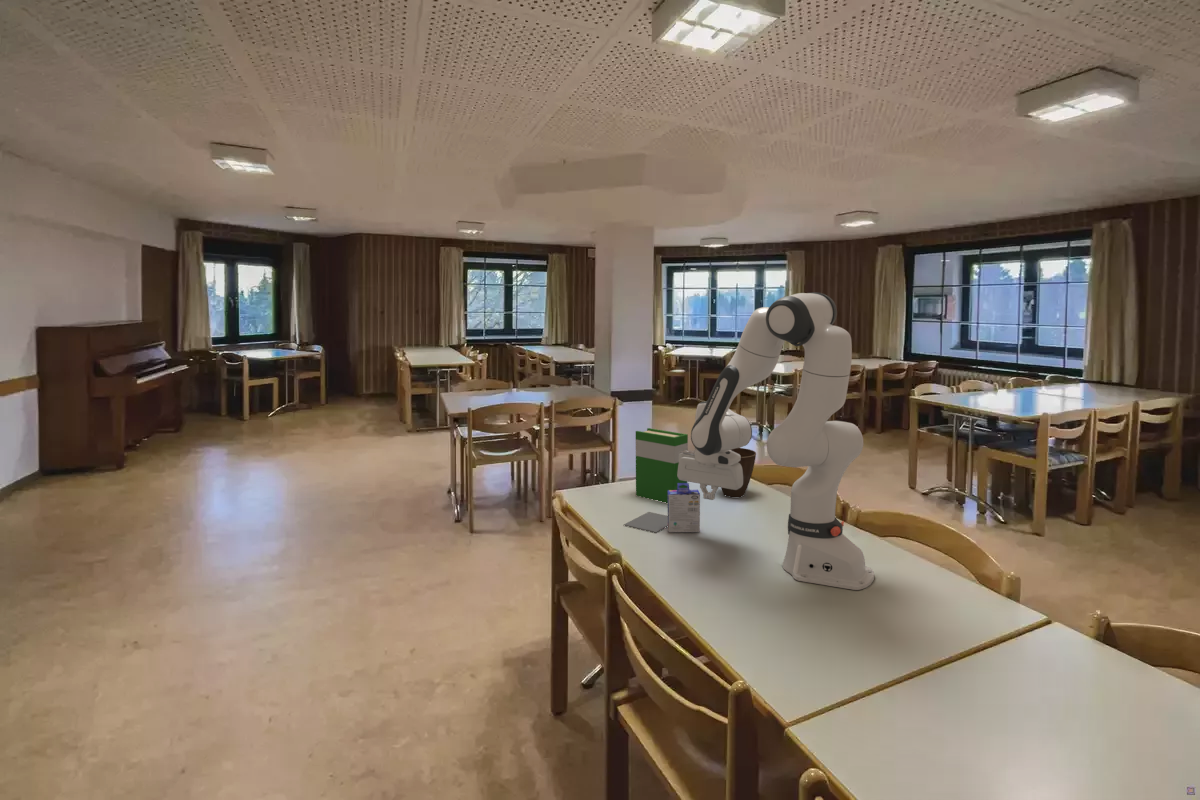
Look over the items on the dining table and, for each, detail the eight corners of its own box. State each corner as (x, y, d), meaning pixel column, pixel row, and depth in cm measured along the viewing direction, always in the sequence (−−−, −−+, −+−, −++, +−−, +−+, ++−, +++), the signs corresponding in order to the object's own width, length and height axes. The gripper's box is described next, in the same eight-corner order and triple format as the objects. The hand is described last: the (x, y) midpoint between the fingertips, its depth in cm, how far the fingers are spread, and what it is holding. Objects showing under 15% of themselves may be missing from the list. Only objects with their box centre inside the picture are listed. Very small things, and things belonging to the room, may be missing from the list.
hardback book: (635, 495, 234) (635, 431, 230) (648, 491, 239) (648, 428, 236) (674, 505, 222) (674, 437, 218) (687, 500, 227) (687, 434, 224)
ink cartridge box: (698, 526, 201) (698, 481, 199) (700, 532, 196) (701, 486, 193) (666, 526, 201) (666, 482, 199) (668, 533, 196) (668, 487, 194)
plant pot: (760, 492, 236) (761, 450, 233) (746, 503, 223) (747, 458, 221) (722, 486, 243) (722, 445, 241) (706, 497, 231) (707, 453, 229)
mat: (680, 519, 208) (680, 518, 207) (656, 533, 196) (656, 532, 196) (648, 512, 215) (648, 511, 215) (623, 525, 203) (623, 524, 203)
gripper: (673, 451, 193) (673, 495, 195) (736, 460, 181) (735, 507, 183) (683, 447, 198) (683, 490, 200) (746, 456, 186) (744, 502, 188)
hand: (709, 498), depth 192 cm, fingers closed
